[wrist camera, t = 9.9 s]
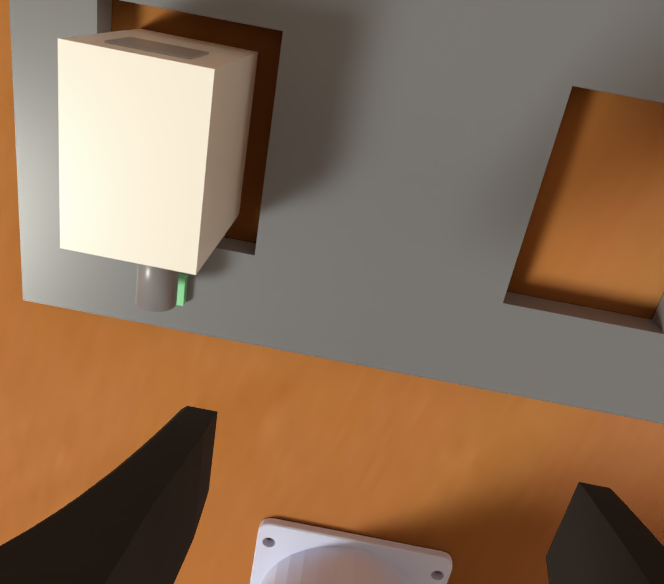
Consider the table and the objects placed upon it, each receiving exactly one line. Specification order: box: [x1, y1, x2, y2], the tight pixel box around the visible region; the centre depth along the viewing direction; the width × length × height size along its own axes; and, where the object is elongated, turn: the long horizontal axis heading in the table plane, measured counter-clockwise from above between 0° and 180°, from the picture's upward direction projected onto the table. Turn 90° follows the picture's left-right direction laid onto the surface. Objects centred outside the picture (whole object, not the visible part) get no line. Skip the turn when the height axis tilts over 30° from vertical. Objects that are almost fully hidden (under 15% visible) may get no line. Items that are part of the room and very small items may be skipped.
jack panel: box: [9, 0, 664, 424], centre depth 19 cm, size 13×24×1 cm, turn 80°
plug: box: [58, 29, 258, 312], centre depth 18 cm, size 7×4×5 cm, turn 170°
